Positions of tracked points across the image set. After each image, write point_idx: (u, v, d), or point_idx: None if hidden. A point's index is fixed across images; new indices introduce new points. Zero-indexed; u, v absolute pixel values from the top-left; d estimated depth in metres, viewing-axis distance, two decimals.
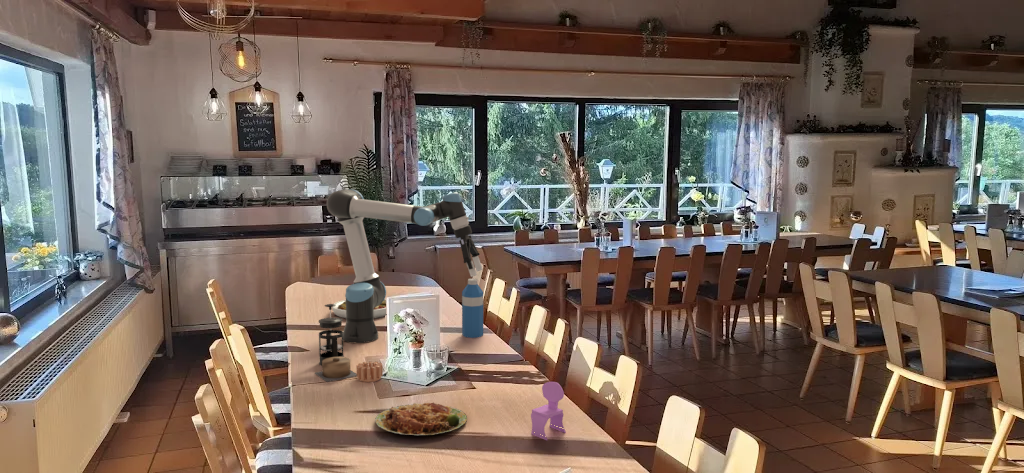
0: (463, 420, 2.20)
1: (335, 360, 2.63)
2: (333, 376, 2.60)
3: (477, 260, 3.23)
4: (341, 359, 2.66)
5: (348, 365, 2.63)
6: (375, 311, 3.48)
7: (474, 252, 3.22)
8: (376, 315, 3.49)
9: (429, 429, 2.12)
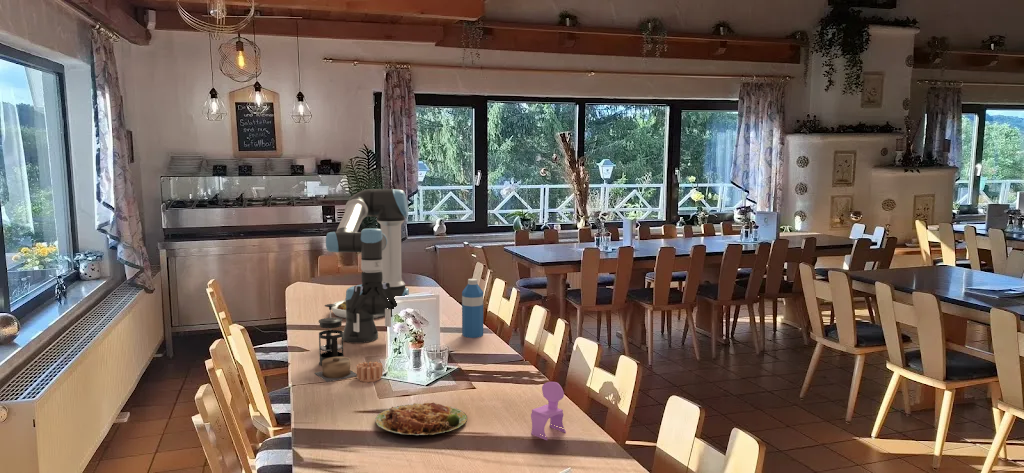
0: (463, 420, 2.20)
1: (335, 360, 2.63)
2: (333, 376, 2.60)
3: (387, 314, 2.69)
4: (341, 359, 2.66)
5: (348, 365, 2.63)
6: None
7: (386, 304, 2.68)
8: (375, 315, 3.49)
9: (429, 429, 2.12)
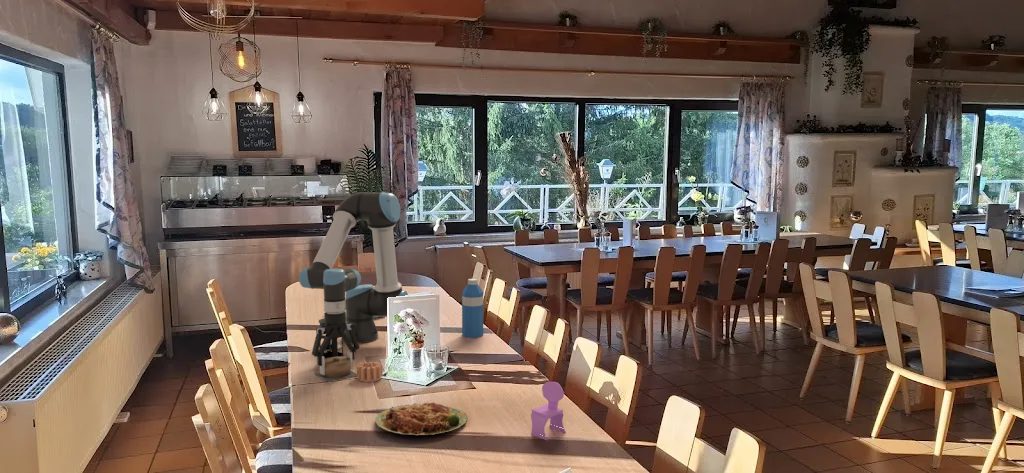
0: (463, 420, 2.20)
1: (335, 360, 2.63)
2: (333, 376, 2.60)
3: (349, 357, 2.67)
4: (341, 359, 2.66)
5: (348, 365, 2.63)
6: None
7: (348, 346, 2.66)
8: None
9: (429, 429, 2.12)
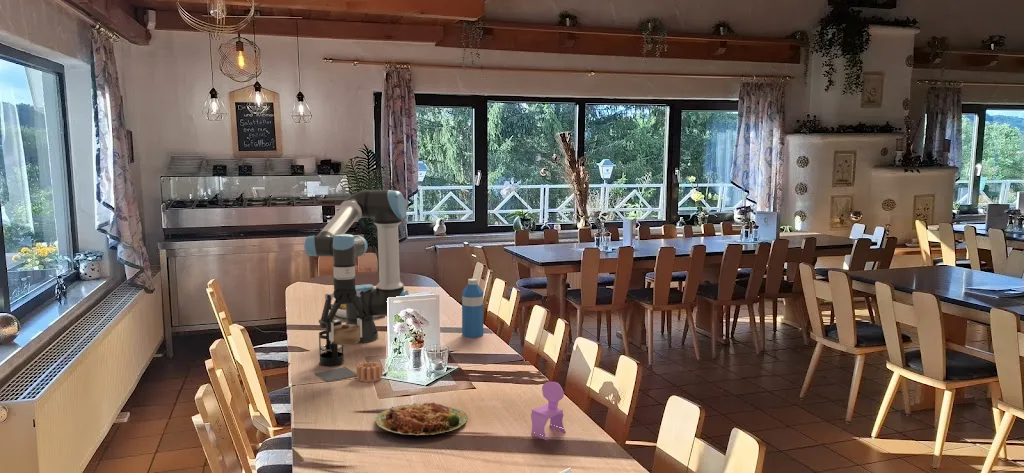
0: (463, 420, 2.20)
1: (344, 327, 2.60)
2: (342, 343, 2.57)
3: (359, 324, 2.63)
4: (350, 326, 2.63)
5: (357, 332, 2.60)
6: None
7: (358, 313, 2.63)
8: None
9: (429, 429, 2.12)
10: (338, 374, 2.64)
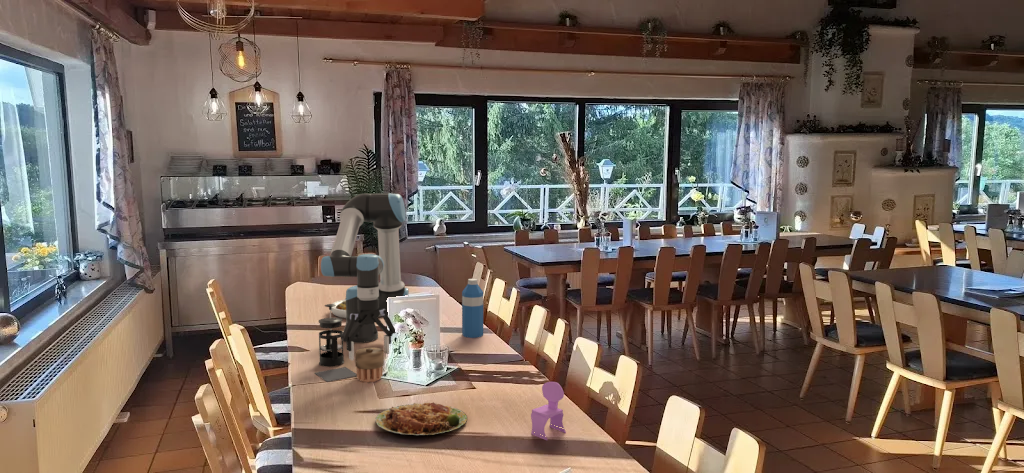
0: (463, 420, 2.20)
1: (368, 351, 2.59)
2: (367, 367, 2.55)
3: (386, 341, 2.63)
4: (374, 350, 2.61)
5: (382, 356, 2.59)
6: None
7: (384, 331, 2.62)
8: None
9: (429, 429, 2.12)
10: (338, 374, 2.64)
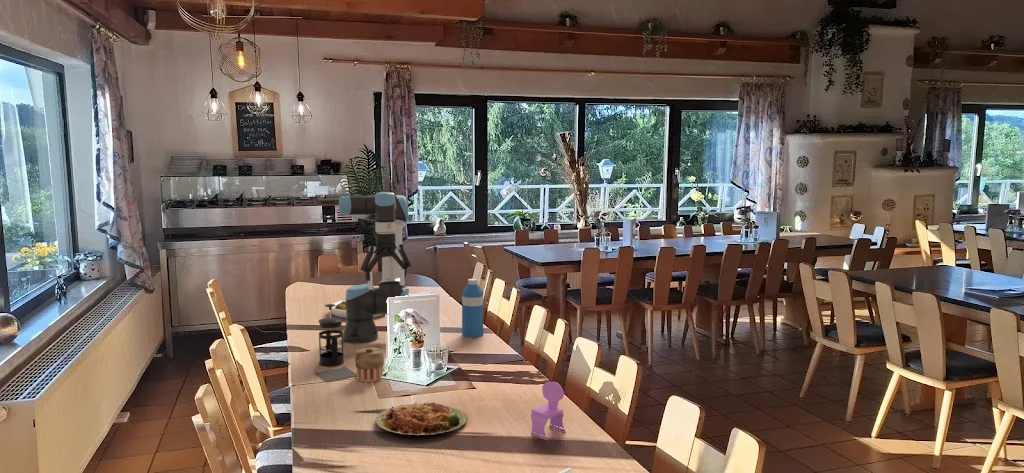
0: (463, 420, 2.20)
1: (368, 351, 2.59)
2: (367, 367, 2.55)
3: (401, 273, 2.84)
4: (374, 350, 2.61)
5: (382, 356, 2.59)
6: None
7: (400, 264, 2.83)
8: None
9: (429, 429, 2.12)
10: (338, 374, 2.64)
